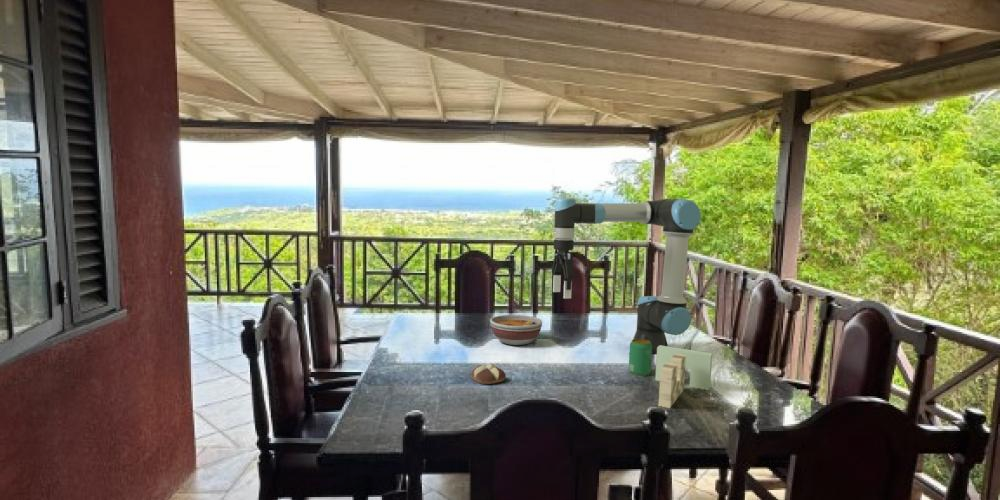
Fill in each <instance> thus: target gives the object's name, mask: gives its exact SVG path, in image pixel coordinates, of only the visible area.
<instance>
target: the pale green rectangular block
mask: <svg viewBox="0 0 1000 500" xmlns="http://www.w3.org/2000/svg"><path fill="white" fill-rule="evenodd" d="M674 354H681V355H686V363H685V370H689V371H690V374H689V387H690V388H693V387H694V389H698V388H700V389H699V390H704V389H705V391H709V390H710V389H711V384H712V381H711V380H712V379H711V378H712V368H713V366H712V365H713V353H711V352H705V351H699V350H698V351H697V350H691V349H686V348H678V347H674V346H669V345H668V346H661V345H659V346H658V347H657V354H656V358H655V359H656V361H655V379H654V380H655V381H658V382H660V371H661V368H662V367H663V366H664V365H665V364H666V363H670V358H671V357H672V356H673V355H674ZM709 388H710V389H709Z"/></svg>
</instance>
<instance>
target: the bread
mask: <svg viewBox="0 0 1000 500" xmlns="http://www.w3.org/2000/svg"><path fill="white" fill-rule="evenodd" d="M470 376H471V377H470V378H471V379H472V380H473V381H474V382H476V383H478V384H481V385H492V384H493V385H494V384H498V383H501V382H503V381H505V379H506V378H507V374H506V373H505V371H504V370H503V369H501V368H499V367H498V366H496V365H495V364H494V363H489V364H487V365H486V366H485V365H483V364H480V365H478V366H476V367H474V369H472V371H471V373H470Z"/></svg>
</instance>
